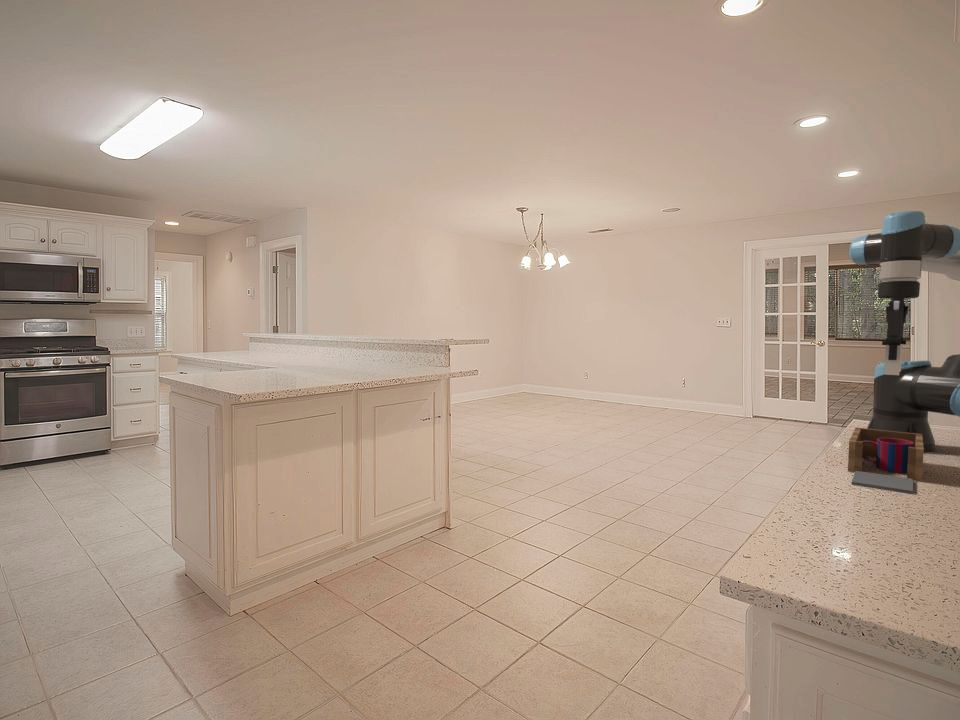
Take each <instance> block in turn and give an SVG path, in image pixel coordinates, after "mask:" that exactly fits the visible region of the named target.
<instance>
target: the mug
mask: <svg viewBox="0 0 960 720" xmlns="http://www.w3.org/2000/svg"><path fill="white" fill-rule="evenodd" d="M864 443H872V444H874V445H875V446H876V458H875V460H872V459H869V458H868V457H864V456H863V454H862V460H865V461H866V462H868V463H871V464H874V465H875V469H876V470H879V471H881V472H885V473H889V474H890V473H891V474H897V475H907V467H908V448H909V447H914V442H912V441H909V440H904V439H897V438H878V439H877V442H873V441H863V444H864Z"/></svg>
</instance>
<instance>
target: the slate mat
mask: <svg viewBox="0 0 960 720" xmlns="http://www.w3.org/2000/svg"><path fill="white" fill-rule="evenodd" d="M851 485H852V486H859V487H864V488H865V487H867V488H872V489H879V490H886V491H890V492H891V491H892V492H897V493H904V494H912V495H913V494H914V481H913V479H910V478H907V477H902V476H896V475H889V474H881V473H875V472H868V471H862V472H861V471H855V472H853V476H852V480H851Z"/></svg>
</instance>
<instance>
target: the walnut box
mask: <svg viewBox="0 0 960 720" xmlns="http://www.w3.org/2000/svg"><path fill="white" fill-rule="evenodd" d="M878 438H897V439H904V440H909V441H912V442H914V447H909V448H908V467H907V474H906V478H910V479H913V482H914V481H915V482H923V473H924V472H923V470H924V469H923V468H924V453H925V452H924V447H923V437H922V434H917V433H907V432H897V431H887V430H877V429H867V427H866V428H865V427H864V428H863V427H855V428H854V430H853V432H852V433H851V437H850V438H849V440H848V456H847V457H848V458H847V459H848V460H847V461H848V462H847V471H848V472H851V473H855V471H861V472H863V471H862V469H863V458H862V454H863V456H864V457H866V458H871V457H872V459H876V446H875V445H874V444H872V443H864V444H863V441H873V442H877V439H878Z"/></svg>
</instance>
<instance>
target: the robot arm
mask: <svg viewBox="0 0 960 720" xmlns="http://www.w3.org/2000/svg"><path fill="white" fill-rule="evenodd" d="M925 217H926V216H925V213H924V212H923V211H920V210H907V211H906V210H905V211H904V210H903V211H898V212H894V213H893V212H892V213H890V214H888V215H887V214H886V216H885V217H884V218H883V221H882V227H881V231H880V233H873V234H871V233H870V234H867V235H862V236H859V237H856V238H854V239H853V240H852V241H851V243H850V245H849V251H848V252H849V258H850V260H851V261H852V262H853V263H854V264H855V265H859V266H861V265H863V266H864V265H867V266H869V265H872V264H873V265H875V264H878V265H879V267H876V269H875V270H876V272H879V275H878V280H880V282H879V283H878V285H877V298H878V299H882V300H883V299H884V300H889V302H888V306H886V307H885V314H886V318H885V319H886V321H885V322H886V323H887V327H886V328H887V329H886V338H885V340H882V341H881V342H882V343H881V345H882V346H885V348H884V349H885V350H884V361H883V362H881V363H879V364H877V365H876V366H875V369H874V370H875V371H874V377H873V405H872V407H873V408H872V416H871V418H870V420H869V423H868V426H867V427H866V429H877V430H887V431H897V432H907V433H917V434H922V437H923V447H924V453H925V452H932V451H935V449H936V440H935V438H934V435H933V431H932V429H931V426H930V423H929V420H928V417H929V416H928V415H929V413H936V414H942V415H949V416H956V417H959V418H960V351H959V352H958V353H953V354H950V355H949V356H947V357H946V359H945V361H944V362H943V364H942V365H941V366H932V364H931V361H930V360H913V361H912V360H910V361H902V358H903V357H902V356H903V346H904V345H907V340H906V339H905V340H904V337H903V335H904V324H906V323H907V315H908V312H909V305H906V304H905V300H906V299H917V298H919V297H920V290H921V283H920V281H918V280H920V279H921V277H922V271H923V272H927V273H935V274H940V275H944V276H945V277H947V278H948V279H950V280H954V281H960V229H959V228H958V227H954V226H950V225H948V224H935V223H934V224H932V223H926V218H925Z"/></svg>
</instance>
